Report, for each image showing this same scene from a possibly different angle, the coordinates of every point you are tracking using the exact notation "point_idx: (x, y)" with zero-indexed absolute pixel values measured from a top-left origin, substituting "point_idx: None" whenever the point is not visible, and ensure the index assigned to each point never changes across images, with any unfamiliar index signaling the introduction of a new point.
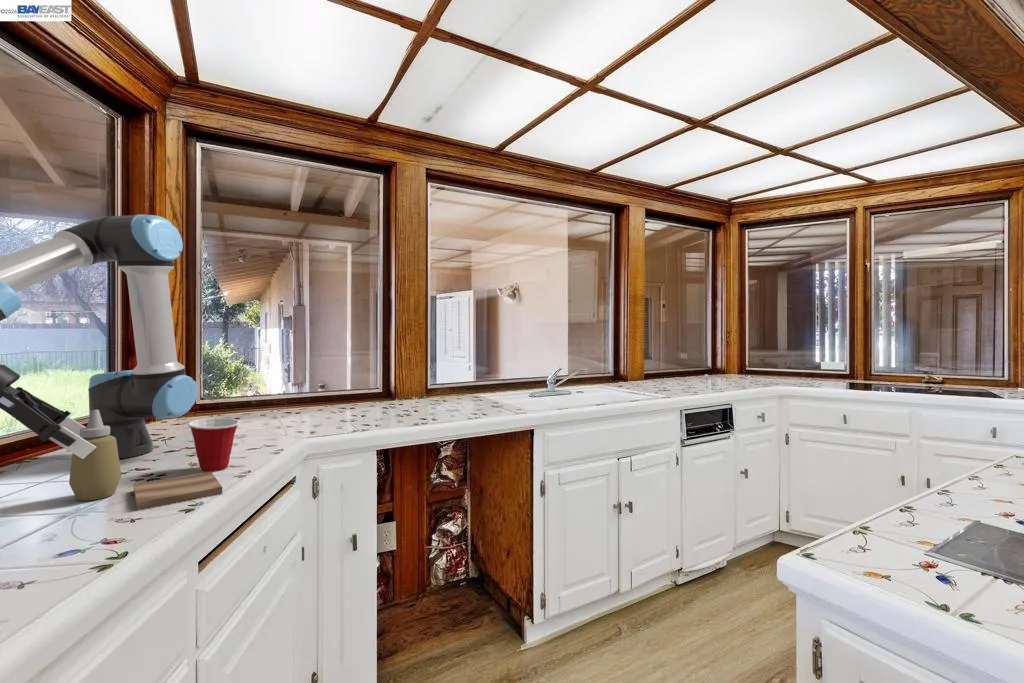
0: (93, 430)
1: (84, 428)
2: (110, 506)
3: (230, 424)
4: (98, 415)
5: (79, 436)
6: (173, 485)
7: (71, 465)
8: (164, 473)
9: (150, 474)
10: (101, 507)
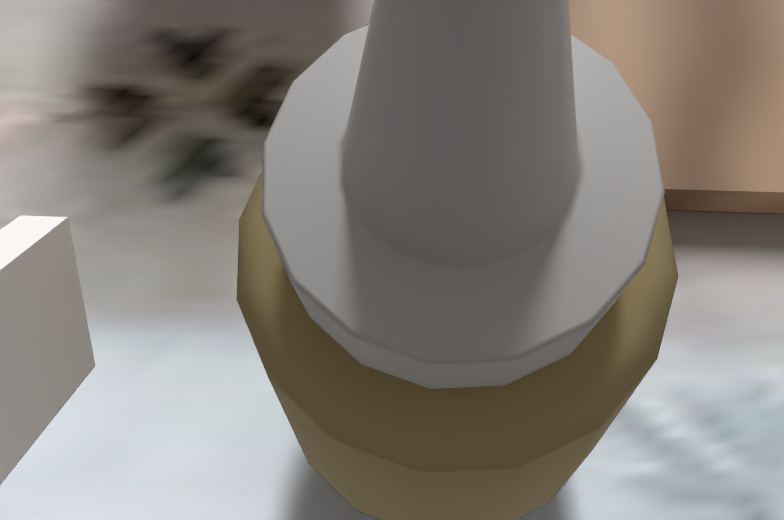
0: (660, 193)
1: (466, 297)
2: (742, 329)
3: None
4: None
5: (20, 402)
6: (679, 12)
7: (456, 513)
8: (163, 39)
9: (117, 101)
10: (731, 373)
